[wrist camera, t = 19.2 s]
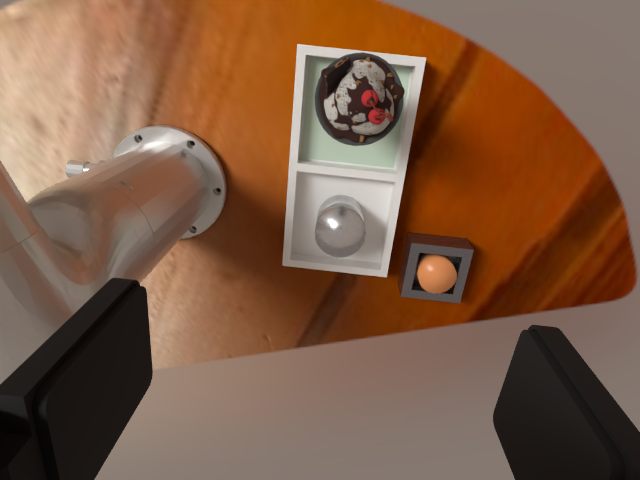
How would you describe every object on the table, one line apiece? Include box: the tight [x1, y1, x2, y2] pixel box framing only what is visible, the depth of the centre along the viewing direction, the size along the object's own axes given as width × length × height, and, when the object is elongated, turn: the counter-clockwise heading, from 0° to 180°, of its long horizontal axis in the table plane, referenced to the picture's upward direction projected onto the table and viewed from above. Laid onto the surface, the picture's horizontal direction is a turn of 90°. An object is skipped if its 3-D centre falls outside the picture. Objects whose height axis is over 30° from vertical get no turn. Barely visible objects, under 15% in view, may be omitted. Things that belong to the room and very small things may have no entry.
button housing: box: [398, 232, 474, 303], centre depth 48 cm, size 7×7×3 cm
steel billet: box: [315, 195, 366, 257], centre depth 45 cm, size 5×5×5 cm
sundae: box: [315, 52, 405, 146], centre depth 35 cm, size 7×7×15 cm
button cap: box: [416, 253, 457, 294], centre depth 47 cm, size 4×4×2 cm
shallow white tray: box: [282, 44, 426, 277], centre depth 44 cm, size 12×22×3 cm, turn 174°
